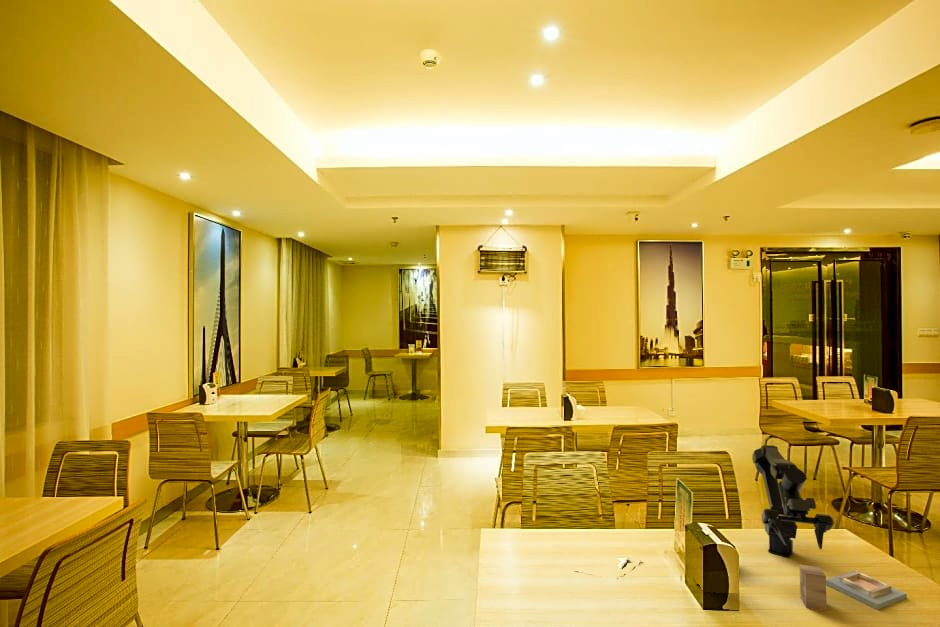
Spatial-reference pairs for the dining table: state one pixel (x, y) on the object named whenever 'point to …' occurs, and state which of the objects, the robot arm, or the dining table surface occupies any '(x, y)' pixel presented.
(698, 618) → the dining table surface
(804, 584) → the walnut block
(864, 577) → the grey square framed tray
